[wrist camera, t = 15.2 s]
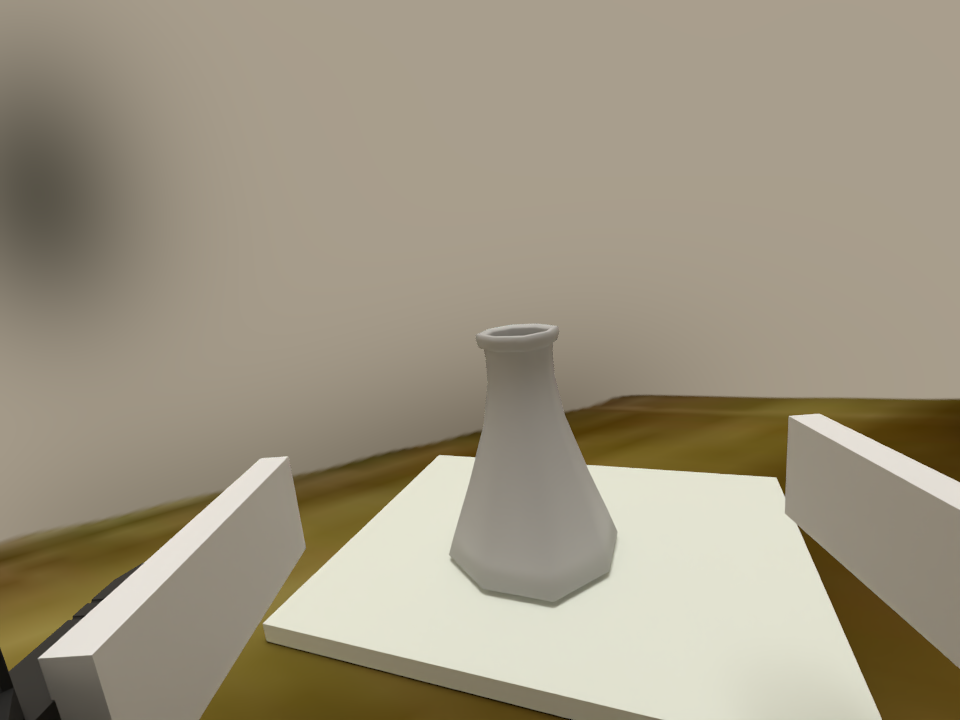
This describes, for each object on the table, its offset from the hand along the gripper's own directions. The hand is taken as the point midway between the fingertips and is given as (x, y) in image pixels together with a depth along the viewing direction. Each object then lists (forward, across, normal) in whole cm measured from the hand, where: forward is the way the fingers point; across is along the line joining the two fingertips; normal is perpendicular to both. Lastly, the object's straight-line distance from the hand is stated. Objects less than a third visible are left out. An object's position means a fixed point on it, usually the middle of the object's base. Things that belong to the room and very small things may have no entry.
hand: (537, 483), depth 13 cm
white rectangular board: (+8, +1, -8) cm, 12 cm away
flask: (+8, 0, -7) cm, 11 cm away
